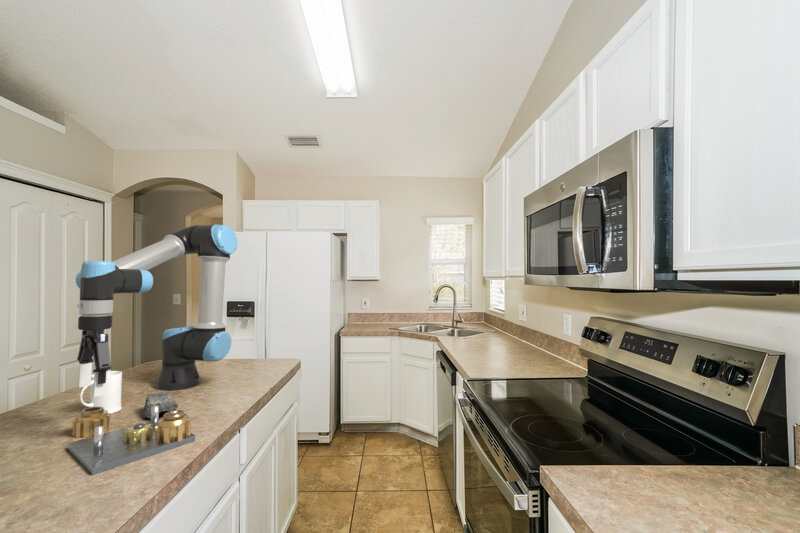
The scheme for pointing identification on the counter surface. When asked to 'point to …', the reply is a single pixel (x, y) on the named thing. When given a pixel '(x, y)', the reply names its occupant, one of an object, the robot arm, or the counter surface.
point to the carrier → (133, 441)
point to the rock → (159, 403)
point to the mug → (112, 396)
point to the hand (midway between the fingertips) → (92, 390)
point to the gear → (90, 421)
